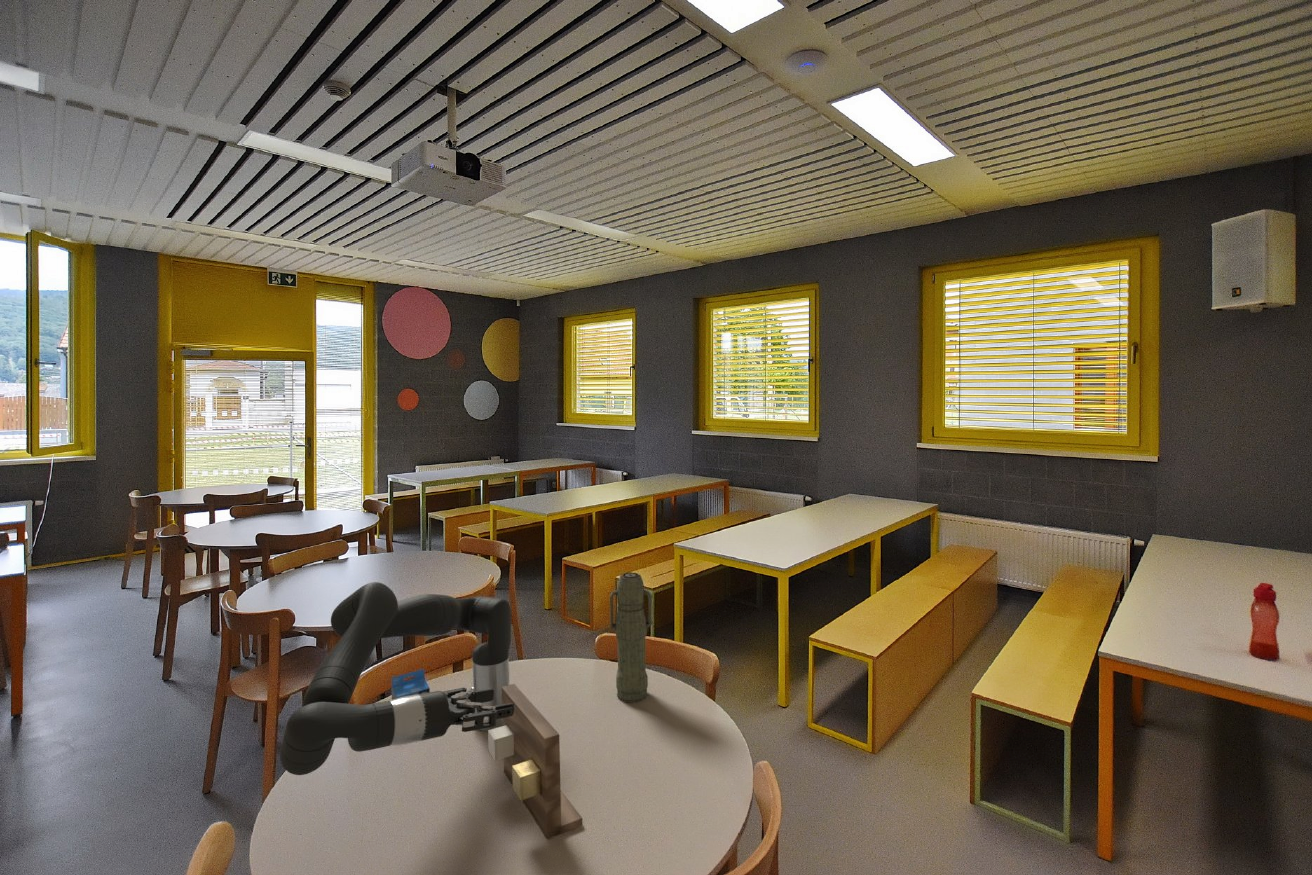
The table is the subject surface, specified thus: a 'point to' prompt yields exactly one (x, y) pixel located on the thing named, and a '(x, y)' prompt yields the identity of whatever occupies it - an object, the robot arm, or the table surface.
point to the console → (539, 764)
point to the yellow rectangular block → (526, 779)
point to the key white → (501, 742)
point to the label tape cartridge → (409, 685)
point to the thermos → (631, 636)
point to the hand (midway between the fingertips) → (502, 701)
